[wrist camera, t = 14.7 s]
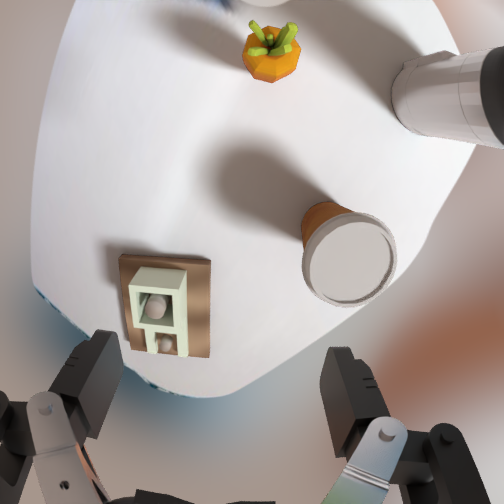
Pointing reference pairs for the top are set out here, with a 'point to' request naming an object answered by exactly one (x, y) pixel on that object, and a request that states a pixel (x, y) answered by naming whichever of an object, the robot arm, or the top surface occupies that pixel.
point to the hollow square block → (174, 314)
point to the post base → (158, 302)
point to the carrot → (271, 51)
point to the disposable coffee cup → (346, 255)
